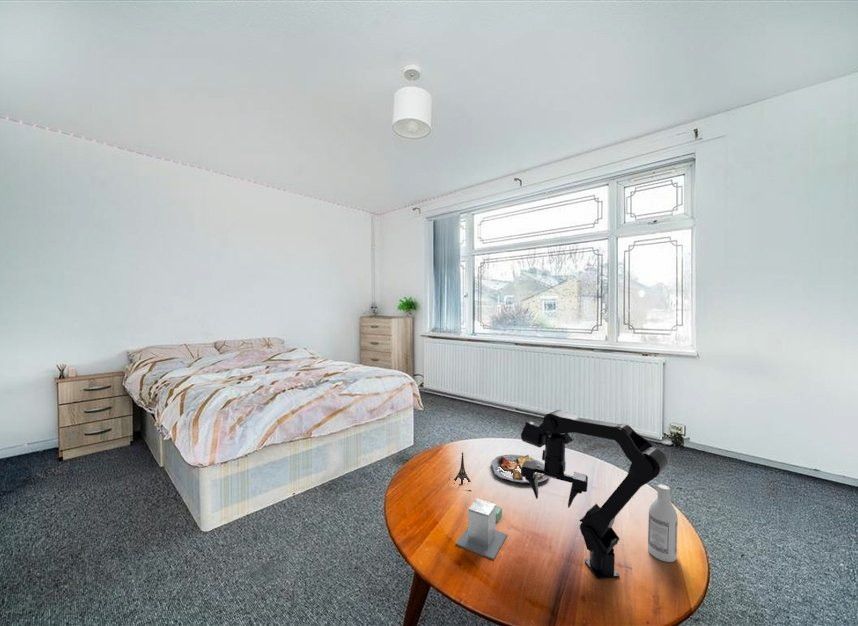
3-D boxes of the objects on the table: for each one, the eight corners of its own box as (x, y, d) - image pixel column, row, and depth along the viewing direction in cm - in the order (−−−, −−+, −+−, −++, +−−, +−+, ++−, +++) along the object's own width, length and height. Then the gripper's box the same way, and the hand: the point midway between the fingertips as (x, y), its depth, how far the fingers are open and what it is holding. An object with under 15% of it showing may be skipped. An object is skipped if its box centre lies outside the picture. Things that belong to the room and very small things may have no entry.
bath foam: (663, 545, 105) (665, 480, 104) (682, 562, 98) (684, 492, 97) (642, 546, 104) (644, 481, 104) (659, 564, 97) (661, 493, 97)
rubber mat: (507, 535, 108) (507, 534, 108) (493, 560, 98) (493, 558, 98) (471, 523, 114) (471, 521, 114) (455, 544, 104) (455, 543, 104)
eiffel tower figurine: (450, 472, 150) (451, 441, 150) (474, 474, 149) (474, 443, 148) (446, 490, 136) (447, 456, 135) (472, 492, 134) (473, 458, 134)
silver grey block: (495, 536, 107) (495, 504, 107) (487, 548, 102) (488, 515, 102) (476, 529, 111) (476, 498, 110) (467, 540, 105) (468, 508, 105)
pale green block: (501, 516, 119) (502, 508, 118) (497, 522, 115) (497, 514, 115) (490, 512, 121) (490, 504, 121) (486, 518, 117) (486, 510, 117)
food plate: (488, 457, 164) (488, 450, 163) (538, 459, 163) (538, 452, 162) (496, 487, 139) (497, 478, 138) (555, 489, 138) (556, 480, 138)
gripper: (589, 449, 108) (587, 497, 109) (528, 436, 116) (526, 481, 117) (588, 464, 98) (585, 517, 99) (521, 449, 107) (519, 498, 107)
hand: (552, 502), depth 106 cm, fingers open, 9 cm apart
